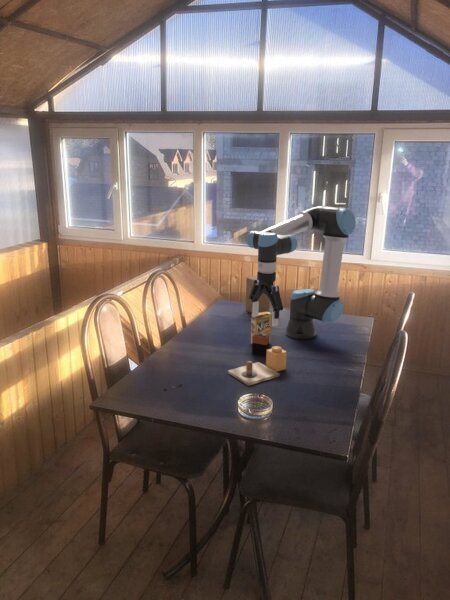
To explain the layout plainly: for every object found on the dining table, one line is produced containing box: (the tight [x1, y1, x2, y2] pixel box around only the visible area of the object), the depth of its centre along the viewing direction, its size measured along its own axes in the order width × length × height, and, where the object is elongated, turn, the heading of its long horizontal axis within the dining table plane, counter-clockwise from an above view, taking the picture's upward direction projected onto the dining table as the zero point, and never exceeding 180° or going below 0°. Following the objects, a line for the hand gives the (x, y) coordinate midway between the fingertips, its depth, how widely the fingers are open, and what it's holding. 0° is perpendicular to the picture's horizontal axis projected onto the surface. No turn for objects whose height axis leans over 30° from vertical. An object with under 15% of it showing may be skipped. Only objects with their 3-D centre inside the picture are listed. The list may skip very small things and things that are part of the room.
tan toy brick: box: [265, 345, 287, 373], centre depth 211 cm, size 6×6×9 cm
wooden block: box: [245, 275, 271, 314], centre depth 284 cm, size 10×10×20 cm
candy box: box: [250, 311, 272, 345], centre depth 237 cm, size 9×4×15 cm, turn 116°
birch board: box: [227, 360, 280, 387], centre depth 205 cm, size 16×14×7 cm
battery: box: [251, 332, 270, 357], centre depth 226 cm, size 4×7×10 cm, turn 65°
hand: (264, 320), depth 207 cm, fingers open, 13 cm apart
